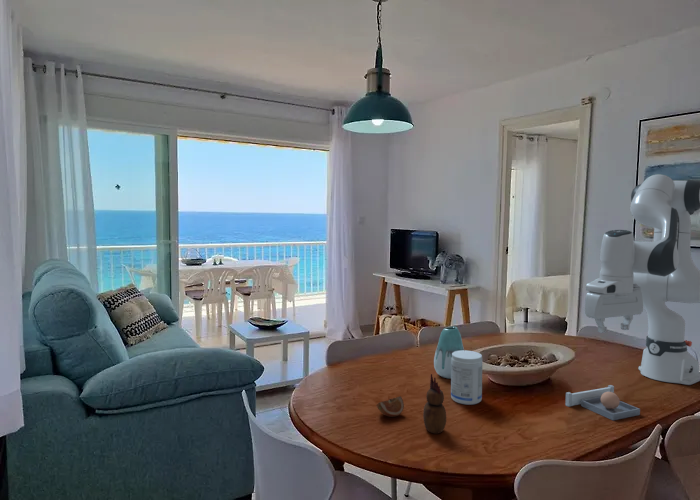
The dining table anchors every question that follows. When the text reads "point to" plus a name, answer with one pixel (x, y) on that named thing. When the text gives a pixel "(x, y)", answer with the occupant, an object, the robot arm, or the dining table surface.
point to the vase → (447, 350)
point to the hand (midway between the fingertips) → (613, 331)
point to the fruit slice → (391, 407)
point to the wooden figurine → (434, 409)
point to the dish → (613, 414)
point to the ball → (610, 400)
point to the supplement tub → (466, 377)
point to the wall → (585, 395)
